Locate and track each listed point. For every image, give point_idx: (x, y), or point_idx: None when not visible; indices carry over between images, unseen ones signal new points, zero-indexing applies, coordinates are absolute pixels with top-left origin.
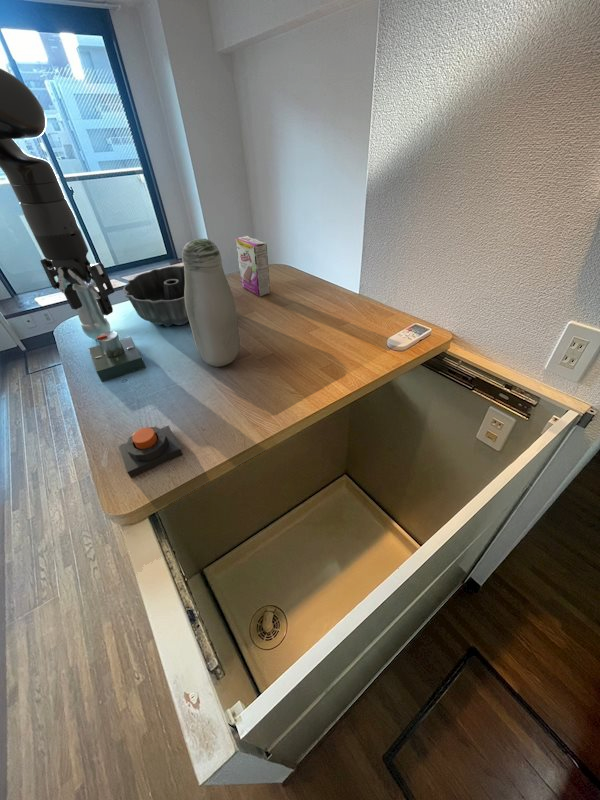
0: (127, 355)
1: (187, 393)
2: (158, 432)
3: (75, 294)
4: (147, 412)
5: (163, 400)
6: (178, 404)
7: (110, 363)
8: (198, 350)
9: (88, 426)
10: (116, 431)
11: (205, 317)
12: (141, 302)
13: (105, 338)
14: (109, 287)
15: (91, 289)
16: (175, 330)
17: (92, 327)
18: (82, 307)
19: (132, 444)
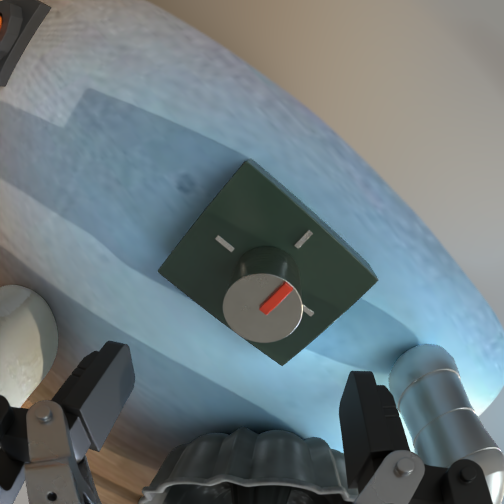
0: (209, 271)
1: (26, 191)
2: None
3: (349, 461)
4: (58, 102)
5: (50, 150)
6: (23, 153)
7: (233, 216)
8: (21, 307)
9: (152, 9)
10: (85, 30)
11: None
12: (270, 477)
13: (254, 294)
14: (6, 458)
15: (45, 456)
16: (220, 417)
17: (419, 370)
18: (445, 419)
19: (1, 12)
